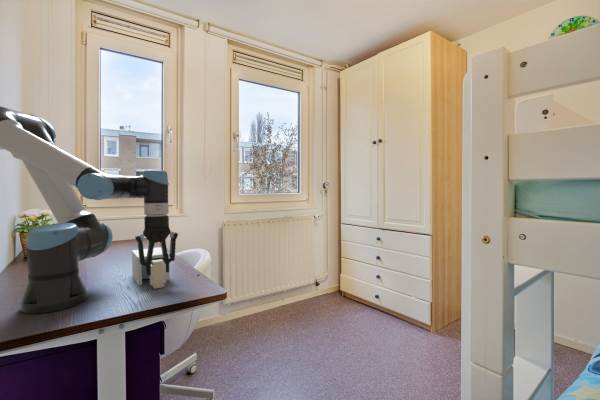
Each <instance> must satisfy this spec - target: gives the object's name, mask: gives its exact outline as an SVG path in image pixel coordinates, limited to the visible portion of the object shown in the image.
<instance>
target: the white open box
mask: <svg viewBox="0 0 600 400" xmlns="http://www.w3.org/2000/svg"><path fill="white" fill-rule="evenodd" d="M143 250H144V259H145V260H146V258H147V252H148V248H143ZM167 253H168V258H169V257H170V252H168V251H167ZM154 258H157V259H158V260H159V259H162V260H163V261H164V258H163V254H162V249H161V246H160V247H154V248H153V254H152V259H154ZM131 265H132V267H131V271H132V277H133V279H134V282H135V283H136V284H137V286H142V285H143V279H142V265H141V264H140V260H139V251H138V249H132V250H131ZM170 274H171V273H170V271H169V272H167V273H166V282H167V281H170Z"/></svg>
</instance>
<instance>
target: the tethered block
mask: <svg viewBox="0 0 600 400" xmlns="http://www.w3.org/2000/svg"><path fill="white" fill-rule="evenodd" d="M145 261H146V260H145ZM151 264H152V265H153V277H154V285H151V287H152V288H153V289H161V288H165V283H164V261H163V260H162V259H159V260H158V259H157V258H154V259H152V260H151ZM147 279H150V275H147V274H146V266H145V265H142V280H147Z"/></svg>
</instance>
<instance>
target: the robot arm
mask: <svg viewBox="0 0 600 400" xmlns="http://www.w3.org/2000/svg"><path fill="white" fill-rule="evenodd" d="M55 138H57V134H56V131H55V129H54V127H53V126H52V124H50V123H49V122H48V121H47V120H45V119H43V118H42V117H39V116H36V115H34V114H31V113H24V112H21V111H16V110H13V109H11V108H7V107H4V106H1V105H0V150H6V151H7V152H9V153H11V155H12V156H13V158H14V159H18V160H20V161H22V163H23V164H24V166H25V168H26V170H27V171H28V173H29V175H30V176H31V178H32V180H33V181H34V183H35V186H36V187H37V189H38V190H39V192H40V194H41V195H42V197H43V199H44V201H45V203H46V204H47V206H48V208H49V210H50V211H51V213H52V215H53V216H54V219H55V220H56V222H57V223H52V224H45V225H41V226H37V227H34V228H32V229H30V230H29V231H28V233H27V234H26V243H25V248H26V262H27V284H26V287H25V290H24V293H23V296H22V298H21V301H20V312H21V313H23V314H30V315H31V314H34V315H35V314H36V315H37V314H45V313H53V312H58V311H61V310H64V309H65V310H66V309H69V308H72V307H74V306H77V305H80V304H82V303H83V302H84V301H86V300H87V297H88V295H87V289H86V287H85V284H84V282H83V280H82V278H81V276H80V275H81V274H80V268H79V267H80V263H79V262H81V261H84V260H87V259H90V258H95V257H97V256H100V255H101V254H103V253H105V252H107V250H108V249H109V248H110V246H111V245H112V242H113V231H112V230H111V228H110V226H109V225H108V224H106V223H104V222H101V221H99V220H98V218H97V216H96V215H95V213H92V212H89V211H88V210H87V209H86V207H85V206H84V205H83V203H82V200H81V198H79V196H78V194H77V192H76V190H75V189H74V187H75V188H77V191H78V192H79V194H80V195H81V196H82V198H85V199H87V200H95V201H103V200H112V199H113V200H114V199H116V200H117V199H143V204H144V205H143V210H144V211H143V213H144V215H145V216H144V218H143V220H144V223H143V225H144V229H143V231H142V233H141V234H138V235H134V239H135V240H136V242H137V250H138V251H139V260H140V264H141V265H145V266H146V274H147V275H150V278H149V285H150V286H152V285H154V277H153V265H152V264H151V260H152V254H153V248H155V244H156V243H160V247H161V249H162V254H163V258H164V284H167V281H166V273H167V272H170V263H171V262H174V261H175V259H176V244H177V243H176V242H177V238H178V237H179V233H178V232H175V231H172V230H171V229H170V223H169V222H170V217H169V215H168V214H169V178H168V177H169V175H168V172H167V171H166V170H163V169H145V170H143V174H142V175H139V176H138V175H137V176H136V175H134V176H133V175H118V174H109V173H105V172H103V171H102V170H100V169H99V168H98V169H97V168H95V166H92V165H90V164H88V163H87V162H85V161H83V160H81V159H79V158H77V157H76V156H74V155H72V154H70V153H68V152H66V151H65V150H63V149H61V148H59V147H57V146H56V145H55V143H56V140H55ZM144 237H145V238H146V240H147V241H148V247H147V249H148V252H147V258H146V261H145V259H144V250H143V249H144V243H143V241H144ZM168 237H169V238H170V244H169V246H170V247H169V252H168V248H167V245H166V244H167V242H166V239H167V238H168ZM167 252H168V253H169V258H168V253H167Z"/></svg>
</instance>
